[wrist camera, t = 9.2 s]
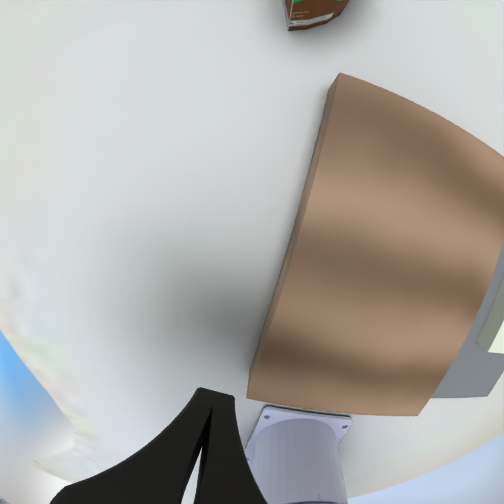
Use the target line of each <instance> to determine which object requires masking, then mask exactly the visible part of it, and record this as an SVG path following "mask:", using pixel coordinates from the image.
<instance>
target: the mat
mask: <svg viewBox="0 0 504 504" xmlns="http://www.w3.org/2000/svg"><path fill="white" fill-rule="evenodd" d="M503 277H504V241H503V245H502V248H501V252H500V255H499V258H498V261H497V264H496V267H495V270H494V273H493V276H492V279H491V281H490V284H489V287H488V289H487V292H486V294H485V297H484V299H483V302H482V304H481V306H480V309H479V311H478V313H477V316H476V318H475V320H474V322H473V324H472V326H471V328H470V330H469V332H468V335H467V337H466V338H465V340H464V342H463V344H462V346H461V348H460V350H459V352H458V354H457V355H456V357H455V359H454V361H453V363H452V364H451V366H450V368H449V369H448V371H447V373H446V374H445V376H444V378H443V379H442V381H441V382H440V384H439V386H438V387H437V389H436V390H435V392H434V393H433V395H432V396H431V398H468V397H486V396H488V395H489V393H490V392H491V390H492V389H493V387H494V386H495V384H496V382H497V381H498V379H499V378H500V376H501V374H502V373H503V371H504V354H503V353H493V352H487V351H486V350H485V349H484V348H483V347H482V346H481V345H480V344H479V343H478V342H477V341H476V340H477V338H478V336H479V334H480V332H481V330H482V328H483V326H484V324H485V322H486V319H487V317H488V315H489V313H490V310H491V308H492V306H493V303H494V301H495V298H496V296H497V293H498V291H499V288H500V286H501V283H502V280H503Z"/></svg>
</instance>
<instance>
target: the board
mask: <svg viewBox="0 0 504 504" xmlns="http://www.w3.org/2000/svg"><path fill="white" fill-rule="evenodd" d="M503 241H504V157H503V156H502V155H501V154H499V153H498V152H496V151H495V150H494V149H492V148H491V147H489V146H488V145H487V144H485V143H484V142H482V141H481V140H479V139H478V138H476V137H475V136H473V135H471V134H470V133H468V132H467V131H465V130H464V129H462V128H460V127H459V126H457V125H455V124H454V123H452V122H450V121H448V120H447V119H445V118H443V117H441V116H439V115H438V114H436V113H434V112H432V111H430V110H428V109H426V108H424V107H422V106H420V105H418V104H416V103H414V102H412V101H410V100H408V99H406V98H404V97H402V96H399V95H397V94H395V93H393V92H390V91H388V90H386V89H383V88H381V87H378V86H376V85H373V84H371V83H368V82H366V81H363V80H360V79H358V78H355V77H352V76H349V75H346V74H343V73H339V74H338V76H337V77H336V79H335V80H334V82H333V83H332V85H331V87H330V88H329V91H328V96H327V100H326V104H325V108H324V112H323V117H322V121H321V125H320V129H319V133H318V137H317V141H316V145H315V149H314V153H313V157H312V161H311V165H310V168H309V172H308V176H307V180H306V184H305V187H304V191H303V195H302V199H301V202H300V206H299V210H298V213H297V217H296V220H295V224H294V228H293V231H292V235H291V238H290V242H289V245H288V249H287V252H286V256H285V259H284V262H283V266H282V269H281V273H280V276H279V279H278V283H277V286H276V289H275V293H274V296H273V299H272V303H271V306H270V309H269V312H268V316H267V319H266V322H265V325H264V328H263V332H262V335H261V338H260V341H259V344H258V347H257V350H256V353H255V357H254V360H253V363H252V366H251V369H250V372H249V380H248V389H247V396H246V398H249V399H253V400H258V401H263V402H268V403H273V404H279V405H285V406H291V407H297V408H304V409H311V410H319V411H327V412H336V413H347V414H360V415H378V416H418V415H419V413H420V412H421V411H422V409H423V408H424V406H425V405H426V404H427V402H428V401H429V399H430V398H431V396H432V395H433V393H434V392H435V390H436V389H437V387H438V386H439V384H440V382H441V381H442V379H443V378H444V376H445V374H446V373H447V371H448V369H449V368H450V366H451V364H452V363H453V361H454V359H455V357H456V355H457V354H458V352H459V350H460V348H461V346H462V344H463V342H464V340H465V338H466V337H467V335H468V332H469V330H470V328H471V326H472V324H473V322H474V320H475V318H476V316H477V313H478V311H479V309H480V306H481V304H482V302H483V299H484V297H485V294H486V292H487V289H488V287H489V284H490V281H491V279H492V276H493V273H494V270H495V267H496V264H497V261H498V258H499V255H500V252H501V248H502V245H503Z"/></svg>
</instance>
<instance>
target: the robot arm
mask: <svg viewBox="0 0 504 504" xmlns="http://www.w3.org/2000/svg"><path fill="white" fill-rule="evenodd" d="M266 415H269V416H266ZM352 422H353V421H352V418H351V417H343V416H333V415H323V414H315V413H307V412H300V411H294V410H287V409H281V408H276V407H269V406H268V407H265V408H264V409H263V411H262V413H261V415H260V418H259V420H258V422H257V425H256V427H255V429H254V431H253V434H252V436H251V438H250V440H249V442H248V445H247V447H246V449H245V451H244V450H243V446H242V443H241V439H240V435H239V431H238V426H237V420H236V414H235V398H234V397H233V396H232V395H228V394H224V393H220V392H216V391H213V390H209V389H205V388H202V387H200V388H197V390H196V392H195V394H194V395H193V397H192V398H191V400H190V401H189V402H188V404H187V405H186V406H185V408H184V409H183V410H182V411H181V412H180V413H179V415H178V416H177V417H176V418H175V419H174V420H173V421H172V422H171V423H170V424H169V425H168V426H167V427H166V428H165V429H164V430H163V431H162V432H161V433H160V434H159V435H158V436H157V437H155V438H154V439H153V440H152V441H151V442H149V443H148V444H147V445H146V446H144V447H143V448H142V449H140V450H139V451H138V452H136V453H135V454H133V455H132V456H130V457H129V458H127V459H125V460H124V461H122V462H121V463H119V464H117V465H115V466H113V467H111V468H109V469H107V470H105V471H103V472H101V473H99V474H97V475H95V476H93V477H90V478H88V479H85V480H82V481H79V482H77V483H74V484H71V485H68V486H65V487H64V488H63V489H62V490H61V491H60V492H59V493H58V494H57V495H56V496H55V497H54V498H53V499H52V501H51V502H50V504H181V502H182V498H183V495H184V492H185V489H186V486H187V484H188V481H189V479H190V476H191V474H192V471H193V468H194V466H195V463H196V461H197V458H198V456H199V453H200V450H201V448H202V452H201V459H200V466H199V473H198V480H197V488H196V494H195V499H194V503H193V504H348V502H347V496H346V490H345V484H344V479H343V473H342V468H341V462H340V457H339V452H338V446H337V444H338V442H339V441H340V440H341V438H342V437H343V436H344V434H345V433H346V431H347V430H348V429H349V427H350V426H351V424H352ZM0 504H9V503H8V502H6V501H5V500H4V499H3V498H1V497H0Z"/></svg>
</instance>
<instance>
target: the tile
mask: <svg viewBox="0 0 504 504" xmlns="http://www.w3.org/2000/svg"><path fill="white" fill-rule="evenodd" d="M476 341H477V342H478V343H479V344H480V345H481V346H482V347H483V348H484V349H485V350H486V351H487V352H493V353H503V354H504V277H503V280H502V283H501V286H500V288H499V291H498V293H497V296H496V298H495V301H494V303H493V306H492V308H491V310H490V313H489V315H488V317H487V319H486V322H485V324H484V326H483V328H482V330H481V332H480V334H479V336H478V338H477V340H476Z"/></svg>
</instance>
